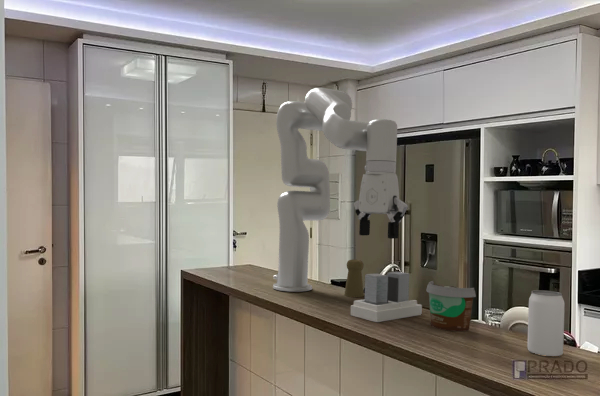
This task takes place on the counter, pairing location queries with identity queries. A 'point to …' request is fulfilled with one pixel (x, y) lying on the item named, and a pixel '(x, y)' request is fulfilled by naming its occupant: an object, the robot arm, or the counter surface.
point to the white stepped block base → (390, 302)
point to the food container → (450, 307)
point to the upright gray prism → (376, 289)
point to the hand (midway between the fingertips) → (378, 236)
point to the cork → (354, 279)
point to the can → (546, 323)
